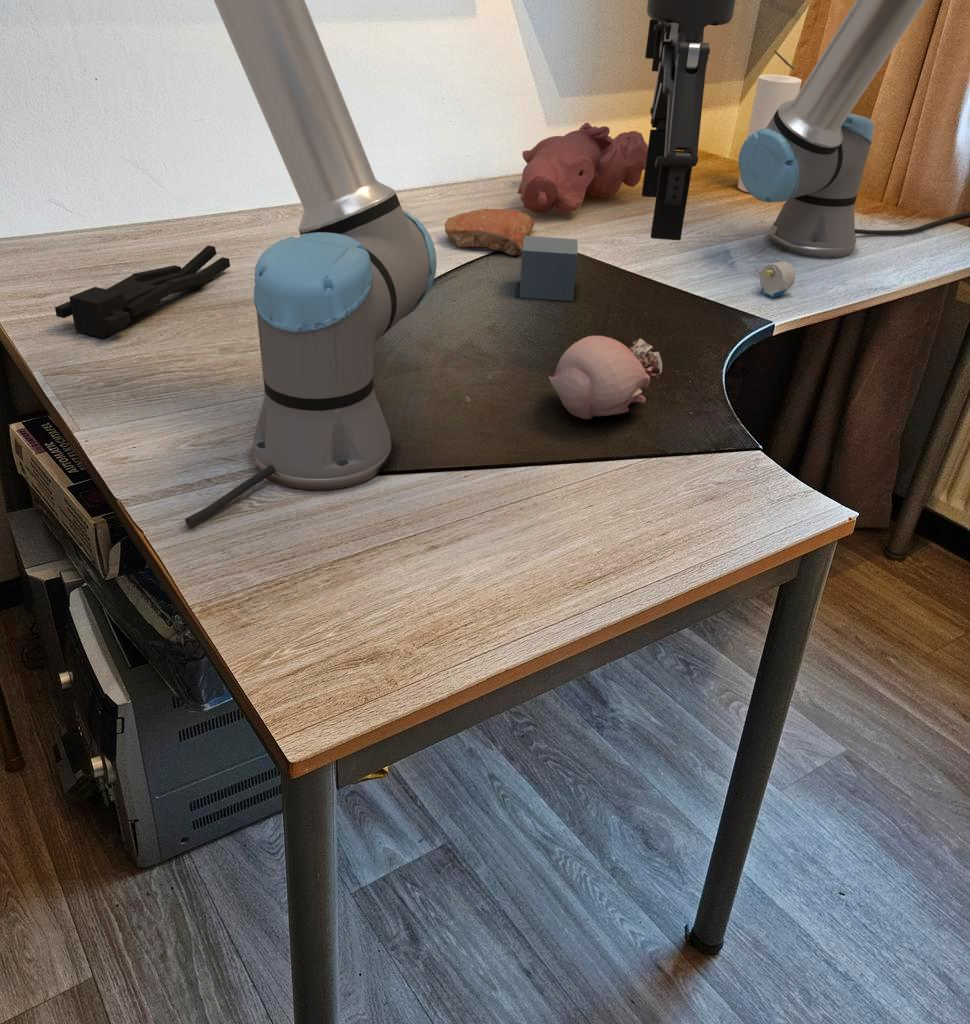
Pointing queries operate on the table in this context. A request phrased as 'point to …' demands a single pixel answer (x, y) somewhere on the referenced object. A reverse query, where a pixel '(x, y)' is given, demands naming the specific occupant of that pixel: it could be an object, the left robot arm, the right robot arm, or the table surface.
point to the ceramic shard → (490, 229)
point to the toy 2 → (604, 376)
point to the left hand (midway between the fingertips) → (659, 216)
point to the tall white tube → (771, 97)
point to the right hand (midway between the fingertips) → (655, 64)
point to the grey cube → (548, 268)
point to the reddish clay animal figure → (580, 168)
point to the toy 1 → (136, 294)
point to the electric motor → (776, 278)
